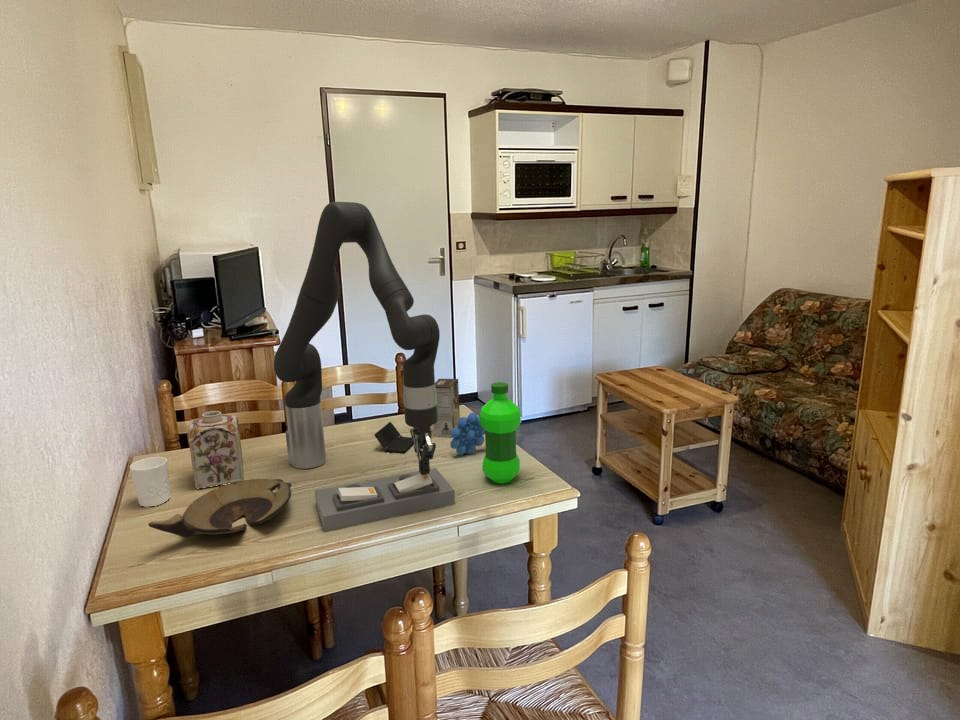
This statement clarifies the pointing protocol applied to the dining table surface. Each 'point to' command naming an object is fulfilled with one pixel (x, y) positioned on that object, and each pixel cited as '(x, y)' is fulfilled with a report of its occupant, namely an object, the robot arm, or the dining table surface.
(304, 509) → the dining table surface
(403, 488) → the right rocker
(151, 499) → the white cup
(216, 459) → the decorative jar
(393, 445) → the handheld gaming console
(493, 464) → the plastic bottle
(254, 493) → the oil lamp
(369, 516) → the rocker switch panel
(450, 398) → the coffee box
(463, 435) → the grapes
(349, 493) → the left rocker
